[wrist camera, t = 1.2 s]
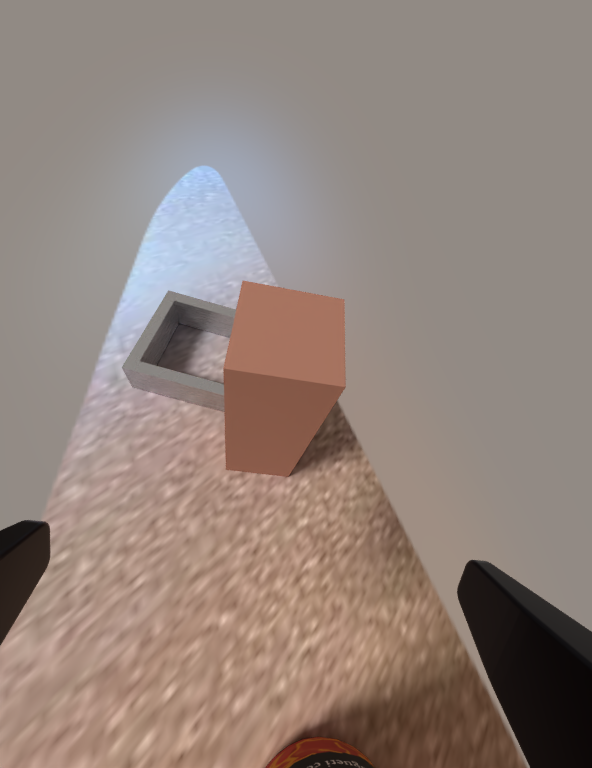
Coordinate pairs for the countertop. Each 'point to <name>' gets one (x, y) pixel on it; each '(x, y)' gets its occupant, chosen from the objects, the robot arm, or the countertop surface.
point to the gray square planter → (156, 339)
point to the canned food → (320, 755)
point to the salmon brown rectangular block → (280, 375)
